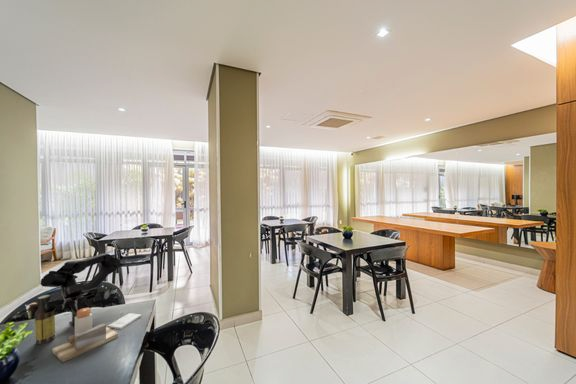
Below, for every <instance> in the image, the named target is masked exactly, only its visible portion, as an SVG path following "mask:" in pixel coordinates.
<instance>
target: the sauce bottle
mask: <svg viewBox="0 0 576 384" xmlns="http://www.w3.org/2000/svg"><path fill="white" fill-rule="evenodd" d="M51 298H52V297H51V295H50V294H45V295H42V296H41V295H40V296H38V297H37V303H38V307H37V308H38V309H37V310H36V311H35V313H34V335H35V338H34V339H35V343H36V345H42V344H46V343H48V342H50V341H53V340H54V339H55V337H56V322H55V321H56V317H55V310H54V311H52V312H48V313H45V312H44V307H45V304H46V303H47V302H48V301H51Z"/></svg>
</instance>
